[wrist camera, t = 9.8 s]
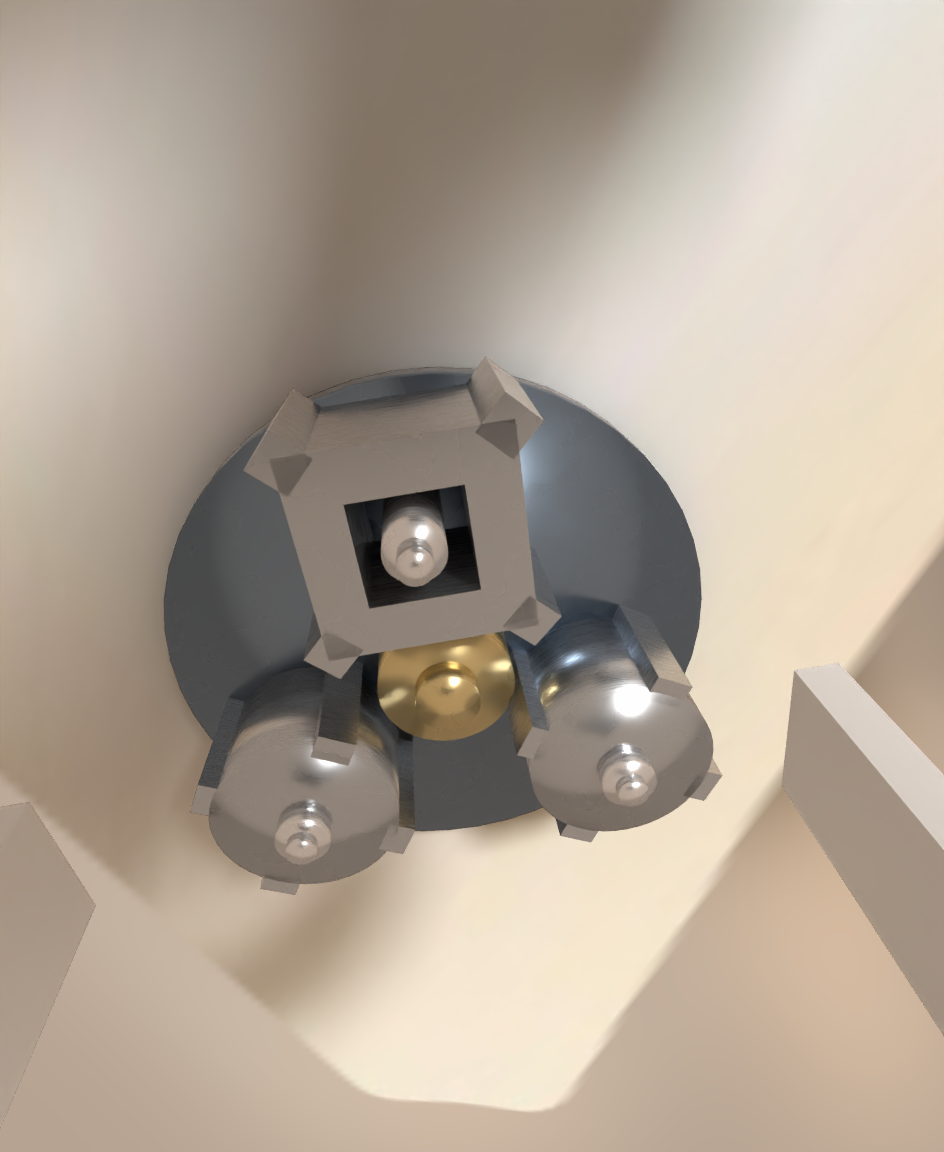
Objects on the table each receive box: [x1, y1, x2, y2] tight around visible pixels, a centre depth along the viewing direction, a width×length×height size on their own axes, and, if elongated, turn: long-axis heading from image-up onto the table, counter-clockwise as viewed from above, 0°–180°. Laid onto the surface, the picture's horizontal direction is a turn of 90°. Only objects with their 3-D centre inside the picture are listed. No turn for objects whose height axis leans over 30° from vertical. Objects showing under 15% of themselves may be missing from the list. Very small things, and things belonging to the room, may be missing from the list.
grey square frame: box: [243, 356, 562, 679], centre depth 23 cm, size 9×9×5 cm
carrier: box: [164, 367, 722, 895], centre depth 27 cm, size 22×22×8 cm
